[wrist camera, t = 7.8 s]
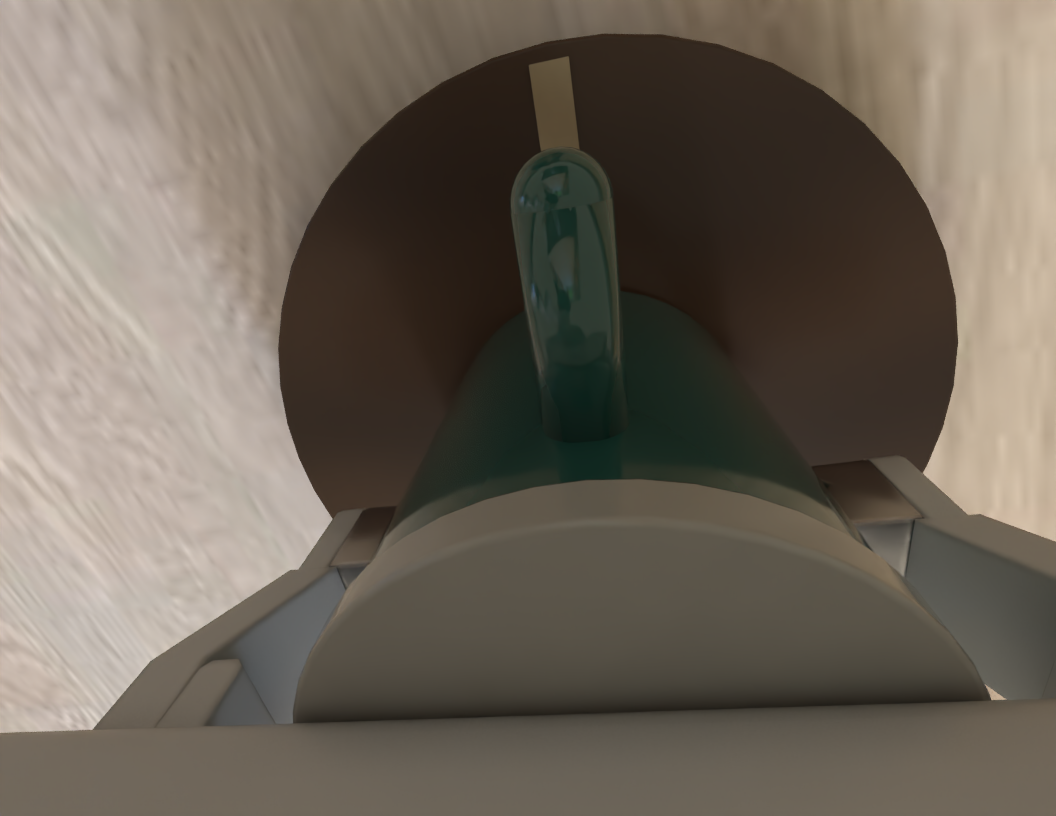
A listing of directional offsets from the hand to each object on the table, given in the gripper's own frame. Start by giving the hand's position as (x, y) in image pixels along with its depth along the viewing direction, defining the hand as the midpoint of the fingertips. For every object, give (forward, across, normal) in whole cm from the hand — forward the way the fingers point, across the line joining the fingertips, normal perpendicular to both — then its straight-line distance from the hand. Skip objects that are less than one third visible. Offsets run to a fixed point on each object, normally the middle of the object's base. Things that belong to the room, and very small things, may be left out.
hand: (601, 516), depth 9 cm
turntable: (+5, 0, 0) cm, 5 cm away
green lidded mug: (+3, 0, -1) cm, 3 cm away
